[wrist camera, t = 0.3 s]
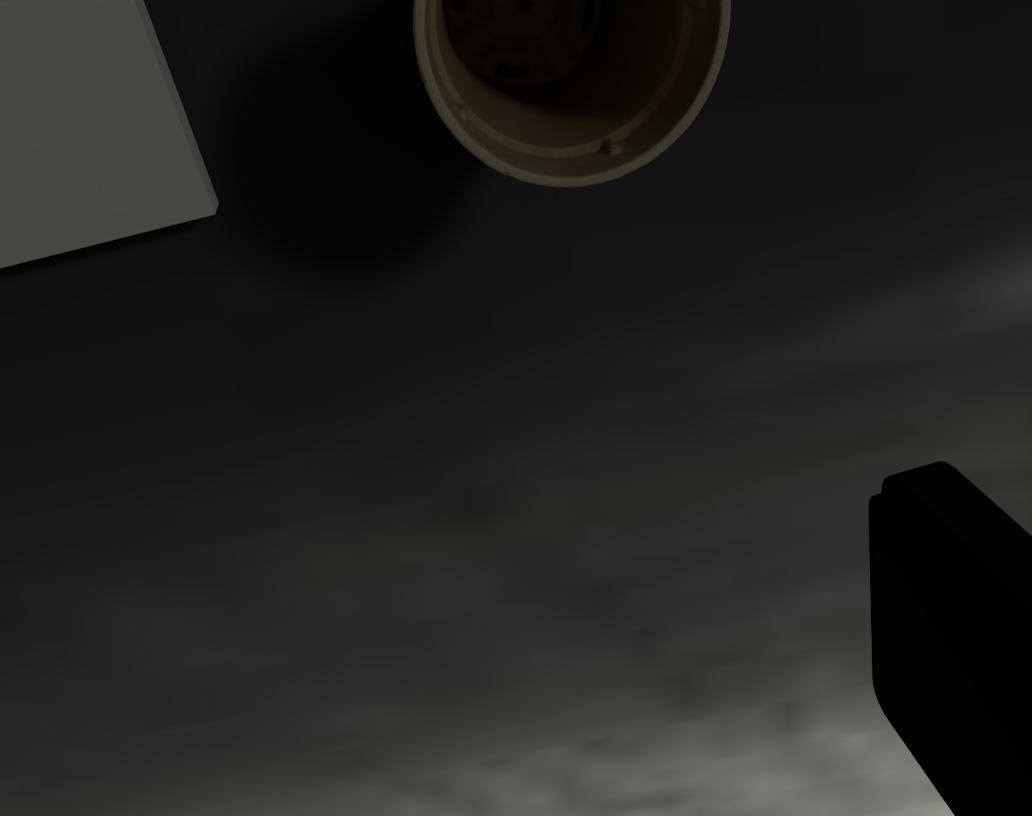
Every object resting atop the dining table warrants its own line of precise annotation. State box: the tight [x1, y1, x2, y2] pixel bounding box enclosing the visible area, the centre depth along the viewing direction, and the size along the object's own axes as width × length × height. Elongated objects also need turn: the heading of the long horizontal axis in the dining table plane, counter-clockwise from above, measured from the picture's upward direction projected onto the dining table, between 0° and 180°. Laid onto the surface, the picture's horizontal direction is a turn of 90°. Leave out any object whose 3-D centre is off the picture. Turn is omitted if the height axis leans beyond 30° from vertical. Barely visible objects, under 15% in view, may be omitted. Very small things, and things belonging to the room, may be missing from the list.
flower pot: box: [413, 0, 731, 187], centre depth 31 cm, size 9×9×9 cm
